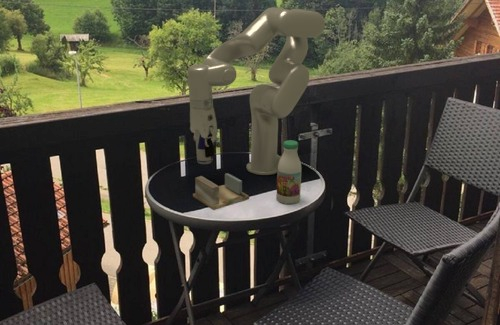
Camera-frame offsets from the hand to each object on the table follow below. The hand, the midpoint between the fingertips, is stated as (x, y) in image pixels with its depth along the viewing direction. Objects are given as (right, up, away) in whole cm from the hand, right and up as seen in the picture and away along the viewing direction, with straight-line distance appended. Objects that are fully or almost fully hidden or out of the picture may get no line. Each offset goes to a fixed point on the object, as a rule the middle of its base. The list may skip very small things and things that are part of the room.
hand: (204, 153), depth 186 cm
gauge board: (+5, -15, -7) cm, 17 cm away
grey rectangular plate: (+11, -13, -5) cm, 17 cm away
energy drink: (0, -3, +1) cm, 3 cm away
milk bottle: (+28, -15, -7) cm, 33 cm away
